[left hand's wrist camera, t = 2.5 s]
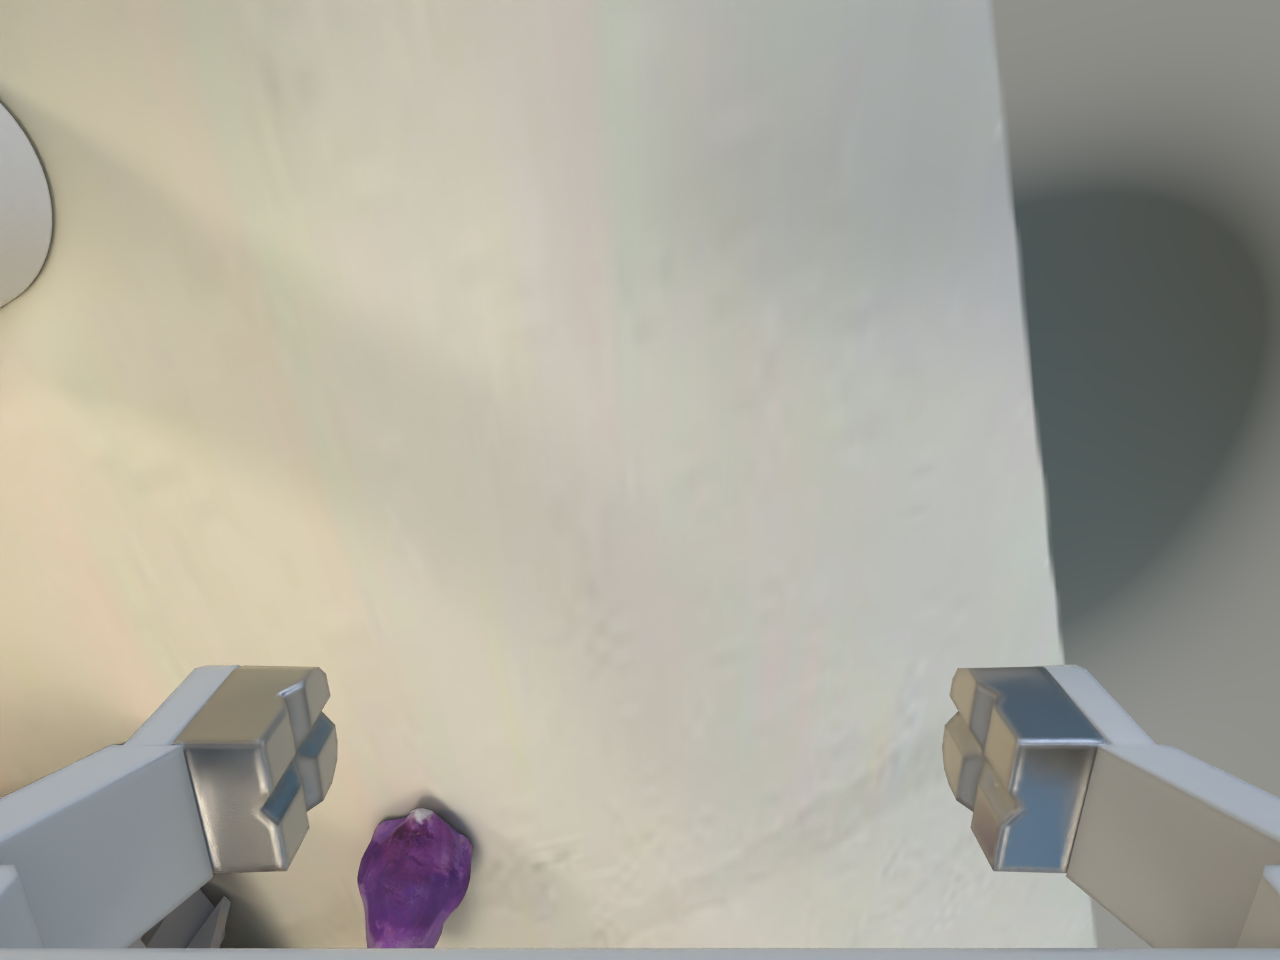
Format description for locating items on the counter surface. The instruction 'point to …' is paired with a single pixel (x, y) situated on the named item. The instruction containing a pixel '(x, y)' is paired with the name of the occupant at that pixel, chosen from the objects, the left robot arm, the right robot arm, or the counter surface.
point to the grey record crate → (189, 925)
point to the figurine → (412, 880)
